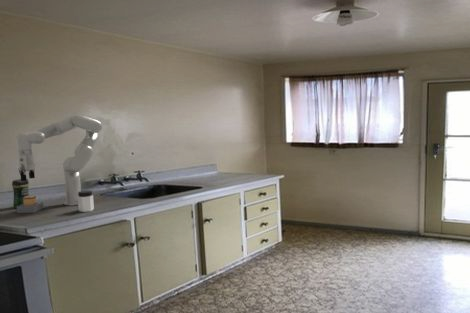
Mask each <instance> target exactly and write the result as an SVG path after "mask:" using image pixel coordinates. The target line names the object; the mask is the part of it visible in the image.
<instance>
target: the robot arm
mask: <svg viewBox="0 0 470 313" xmlns="http://www.w3.org/2000/svg"><path fill="white" fill-rule="evenodd" d="M77 128H79V129H83V130H85V132H86V133H85V136H84V138H83V139H82V140H81V142H80V143H79V144H78V145H77V146H76V147H75V149H74V155H73V156H68V157H66V158H65V159H64V160H63V163H62V167H63V169H62V170H63V173H64V174H63V175H64V183H65V184H64V185H65V186H64V187H65V195H66V196H65V199H66V200H65V201H64V203H63V204H64V206H78V192H80V191H82V186H81V171H82V170H83V169H84V168H85V167H86V166H87V164H88V163H89V162H90V161H91V159H92V158H93V155H94V147H95V146H96V145H97V143H98V141H99V138H100V136H99V134H100V132H101V131H102V130H103V124H102V123H101V121H99V120H97V119H94V118H91V117H88V116H86V115H83V114H73V115H72V114H71V115H69V116H67V117H64V118H63V119H60V120H58V121H56V122H54V123H51V124H49V125H46V126H43V127H41V128H39V129H36V130H34V131H32V132H19V133H17V135H16V139H17V149H18V150H17V152H18V156H19V157H18V165H19V166H18V168H17V169H18V173H19V176H20V179H21V181H26V179H27V174H26V173H27V172H28V176H29V177H28V178H29V179H35V178H36V177H35V168H36V164H35V159H34V154H33V147H32V144H33V145H34V144H35V145H37V144H42V143H44V142H45V140H47V139H49V138H51V137H56V136H60V135H63V134H65V133H68V132H70V131H72V130H74V129H77Z"/></svg>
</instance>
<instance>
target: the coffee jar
mask: <svg viewBox="0 0 470 313" xmlns="http://www.w3.org/2000/svg"><path fill="white" fill-rule="evenodd" d="M29 186H30V183H29V179H28V178H26V181H21V178H19V179H14V180H12V183H11V187H12V190H13V208H15V209H17V208H16V207H17V206H19V205H21V204H24V201H23V197H25V196H30V194H29V193H30V192H29Z"/></svg>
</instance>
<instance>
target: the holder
mask: <svg viewBox="0 0 470 313" xmlns="http://www.w3.org/2000/svg"><path fill="white" fill-rule="evenodd" d="M15 209H16V214H27V213H36V212H39V211H40V210H42V209H44V202H43V201H40V202H39V201H38V202H37V201H36V204H35V205H26V206H24V204H21V205H19V206H17V207H16V208H15Z"/></svg>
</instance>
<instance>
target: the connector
mask: <svg viewBox="0 0 470 313" xmlns="http://www.w3.org/2000/svg"><path fill="white" fill-rule="evenodd" d="M23 201H24V206H26V205H35V204H36V202H37V196H36V195H29V196H25V197H23Z"/></svg>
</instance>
